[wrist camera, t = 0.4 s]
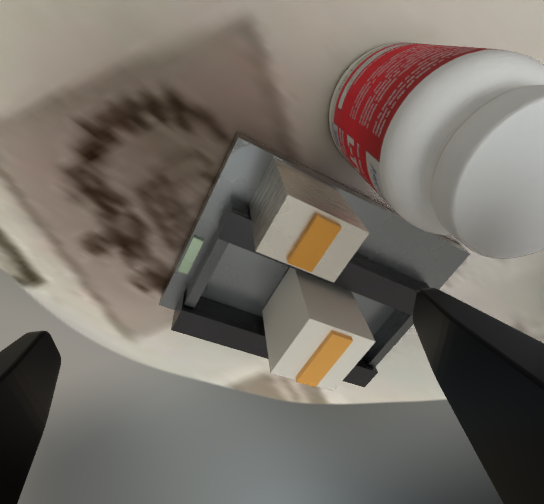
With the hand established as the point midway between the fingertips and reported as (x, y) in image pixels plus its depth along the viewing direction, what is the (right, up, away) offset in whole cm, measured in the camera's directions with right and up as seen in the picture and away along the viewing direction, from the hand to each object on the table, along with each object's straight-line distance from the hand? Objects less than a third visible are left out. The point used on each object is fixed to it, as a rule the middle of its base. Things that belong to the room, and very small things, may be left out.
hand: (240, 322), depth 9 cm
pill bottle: (+7, +9, +10) cm, 15 cm away
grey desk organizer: (+3, +1, +15) cm, 15 cm away
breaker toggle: (+3, -1, +14) cm, 14 cm away
